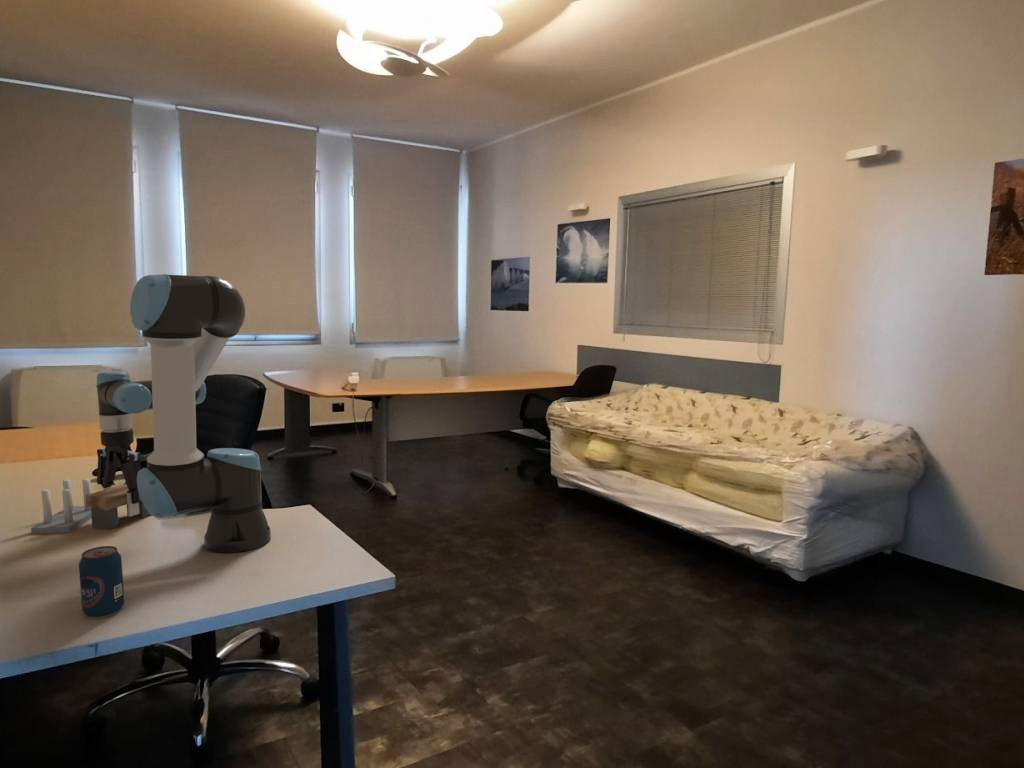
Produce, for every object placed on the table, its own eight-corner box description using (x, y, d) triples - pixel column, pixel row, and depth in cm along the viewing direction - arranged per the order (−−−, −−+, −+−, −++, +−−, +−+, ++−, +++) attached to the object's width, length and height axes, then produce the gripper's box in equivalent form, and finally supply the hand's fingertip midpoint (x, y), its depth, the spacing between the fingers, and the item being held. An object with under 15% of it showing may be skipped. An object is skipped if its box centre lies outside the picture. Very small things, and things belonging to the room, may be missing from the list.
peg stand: (103, 510, 189) (101, 475, 188) (69, 532, 171) (66, 494, 170) (69, 511, 188) (66, 476, 187) (31, 533, 170) (28, 495, 169)
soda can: (73, 618, 126) (68, 557, 124) (101, 601, 133) (97, 543, 131) (106, 621, 125) (101, 559, 123) (133, 604, 131) (129, 546, 130)
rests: (152, 515, 185) (151, 495, 184) (107, 529, 173) (106, 509, 173) (137, 512, 188) (136, 493, 187) (92, 526, 176) (90, 506, 175)
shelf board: (155, 495, 185) (154, 485, 184) (107, 510, 172) (106, 498, 171) (135, 492, 188) (134, 481, 187) (86, 506, 175) (85, 495, 175)
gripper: (157, 430, 177) (162, 513, 179) (103, 423, 185) (109, 503, 188) (131, 435, 170) (136, 522, 173) (76, 428, 178) (83, 511, 181)
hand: (122, 512), depth 180 cm, fingers closed on shelf board, 8 cm apart
